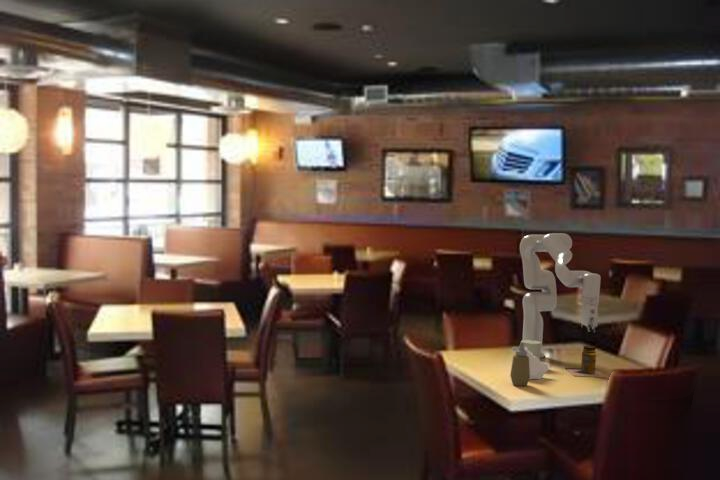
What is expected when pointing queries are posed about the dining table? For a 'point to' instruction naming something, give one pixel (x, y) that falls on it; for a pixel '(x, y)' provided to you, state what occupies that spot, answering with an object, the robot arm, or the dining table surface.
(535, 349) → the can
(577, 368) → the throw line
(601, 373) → the mat
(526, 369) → the squeeze bottle
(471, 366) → the dining table surface
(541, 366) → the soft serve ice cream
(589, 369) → the condiment
